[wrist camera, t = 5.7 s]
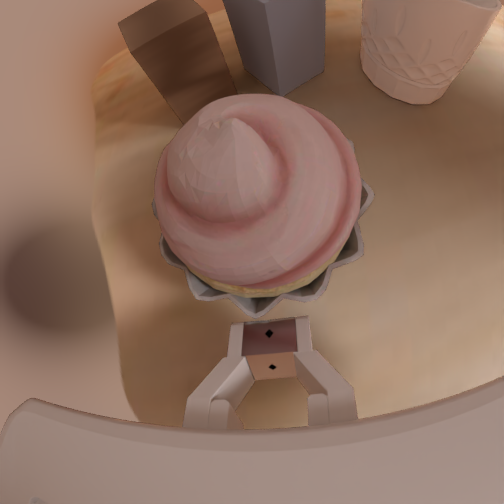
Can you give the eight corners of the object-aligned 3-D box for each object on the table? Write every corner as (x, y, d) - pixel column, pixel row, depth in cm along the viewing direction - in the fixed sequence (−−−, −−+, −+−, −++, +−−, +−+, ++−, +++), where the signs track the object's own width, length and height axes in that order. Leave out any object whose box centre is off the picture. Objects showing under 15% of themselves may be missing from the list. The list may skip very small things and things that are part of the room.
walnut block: (216, 68, 19) (180, -12, 11) (239, 100, 18) (206, 11, 10) (168, 94, 19) (117, 23, 11) (187, 129, 18) (130, 52, 10)
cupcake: (385, 251, 15) (486, 194, 5) (238, 338, 16) (150, 397, 6) (296, 123, 17) (282, -11, 7) (166, 200, 18) (55, 122, 8)
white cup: (331, 67, 17) (334, -51, 7) (382, 27, 17) (398, -66, 7) (424, 132, 15) (488, 26, 6) (462, 80, 15) (509, -5, 6)
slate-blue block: (286, 44, 18) (273, -39, 10) (323, 71, 17) (325, -20, 9) (244, 68, 18) (216, -17, 10) (280, 98, 17) (264, 3, 10)
